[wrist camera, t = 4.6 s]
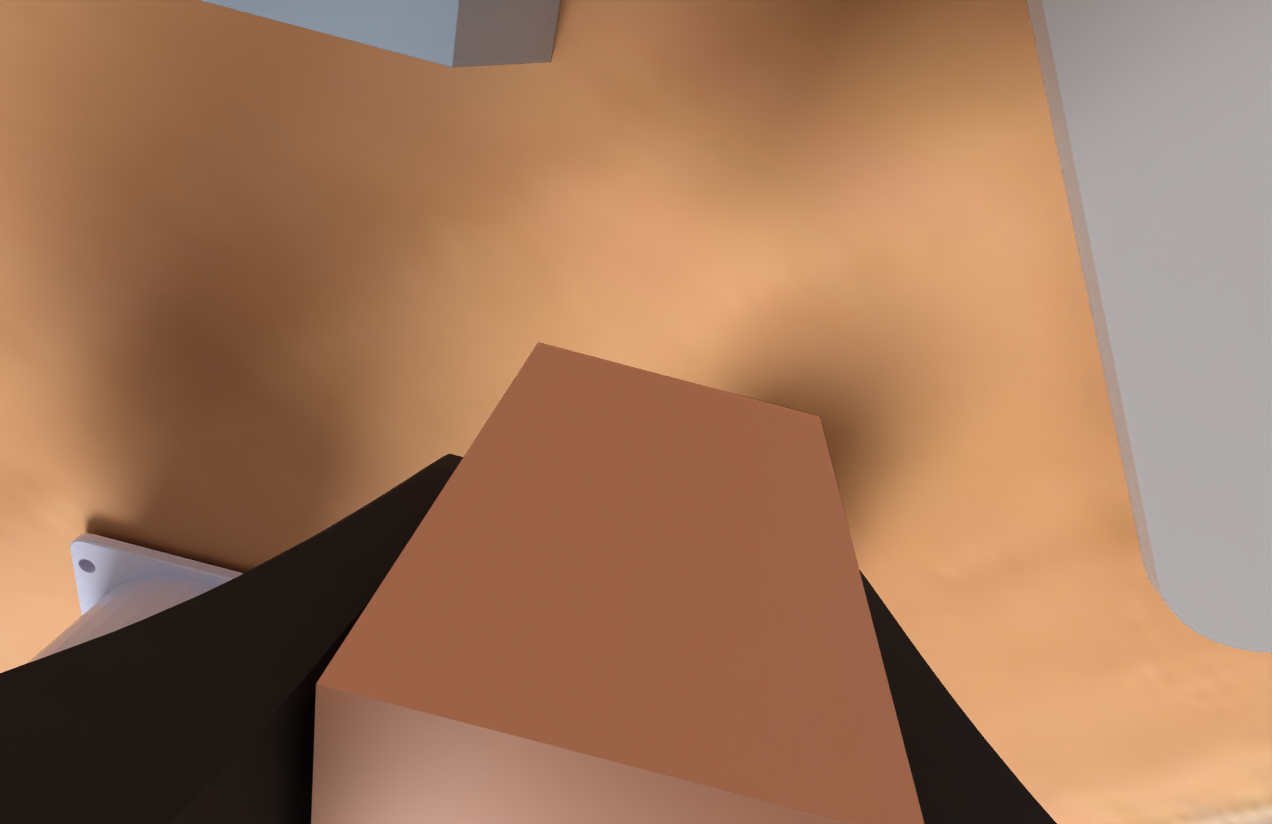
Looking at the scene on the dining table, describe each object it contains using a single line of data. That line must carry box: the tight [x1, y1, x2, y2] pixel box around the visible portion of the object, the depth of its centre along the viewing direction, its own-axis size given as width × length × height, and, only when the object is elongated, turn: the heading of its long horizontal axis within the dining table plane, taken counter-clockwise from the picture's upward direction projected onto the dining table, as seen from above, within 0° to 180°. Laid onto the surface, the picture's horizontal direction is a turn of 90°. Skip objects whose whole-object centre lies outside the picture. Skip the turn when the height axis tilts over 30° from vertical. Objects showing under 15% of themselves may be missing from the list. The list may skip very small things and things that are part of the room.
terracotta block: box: [311, 342, 924, 824], centre depth 8 cm, size 4×4×6 cm
